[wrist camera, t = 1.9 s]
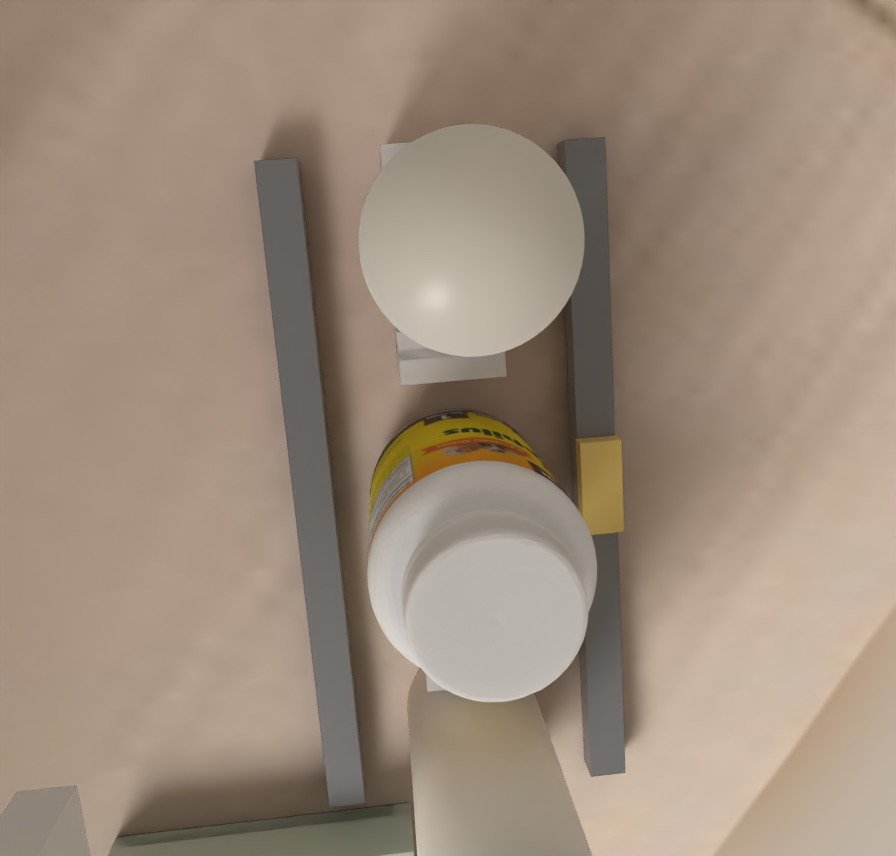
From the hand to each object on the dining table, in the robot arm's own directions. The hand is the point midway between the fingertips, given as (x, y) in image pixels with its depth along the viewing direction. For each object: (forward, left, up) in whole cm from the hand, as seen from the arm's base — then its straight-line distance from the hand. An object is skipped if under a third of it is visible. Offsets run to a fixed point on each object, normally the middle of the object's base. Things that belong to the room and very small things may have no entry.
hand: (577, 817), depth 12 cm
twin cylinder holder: (0, 0, -17) cm, 17 cm away
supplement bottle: (0, 0, -17) cm, 17 cm away
